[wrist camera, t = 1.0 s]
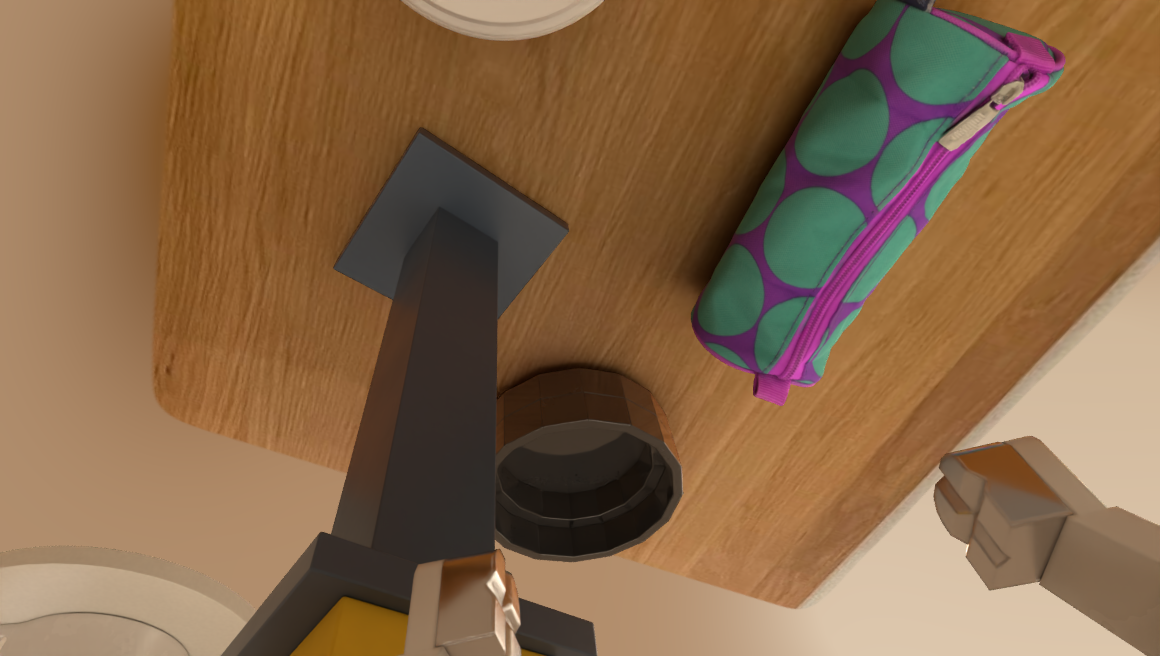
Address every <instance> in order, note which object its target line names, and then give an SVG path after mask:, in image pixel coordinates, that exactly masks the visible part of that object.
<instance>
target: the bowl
mask: <svg viewBox="0 0 1160 656" xmlns="http://www.w3.org/2000/svg"><path fill="white" fill-rule="evenodd" d="M682 495H683V480H682V465H681V462H680V459H679V456H678V453H677V449H676V446H675V443H674V440H673V437H672V433H671V430H670V427H669V424H668V420H667V417H666V414H665V413H664V411H663V410H662V408H661V407H660V406H659V404H658V403H657V401H656V400H655V398H654V397H653V395H652V394H651V392H650V391H649V390H647V389H645V388H644V387H642V386H640V385H638V384H636V383H635V382H633V381H631V380H629V379H628V378H626V377H624V376H622V375H620V374H618V373H611V372H605V371H598V370H592V369H585V368H575V369H569V370H563V371H557V372H551V373H544V374H539V375H537V376H535V377H533V378H531V379H529V380H527V381H525V382H523V383H522V384H520V385H518V386H516V387H514V388H512V389H510V390H508V391H506V392H505V393H503V394H502V396H501V397H500V398H499V399H498V400H497V401H496V480H495V540H496V541H497V542H499V543H500V544H501V545H502V546H503V547H504V548H507V549H509V550H512V551H514V552H517V553H520V554H522V555H525V556H528V557H531V558H533V559H538V560H539V559H540V560H552V561H563V562H578V561H584V560H590V559H596V558H602V557H607V556H612V555H614V554H616V553H619V552H621V551H623V550H626V549H628V548H630V547H633V546H635V545H637V544H640V543H642V542H644V541H645V540H646V539H648V538H649V537H650V536H651V535H652V534H654V533H655V532H656V531H657V530H658V529H660V528H661V527H662V526H663V525H664V524H666V523H667V522H668V521H669V520H670V518H671V516H672V514H673V512H674V510H675V508H676V506H677V505H678V503H679V501H680V499H681V497H682Z"/></svg>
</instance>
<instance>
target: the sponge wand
mask: <svg viewBox="0 0 1160 656" xmlns="http://www.w3.org/2000/svg"><path fill="white" fill-rule="evenodd" d="M408 617H409V615H407V614H404V613H400V612H397V611H393V610H390V609H387V608H383V607H380V606H377V605H373V604H370V603H366V602H363V601H360V600H356V599H353V598H349V597H342V598H341V599H340V600H339V601H338V602H337V604H336V605H335V606H334V607H333V608H332V609H331V610H330V611H329V612H328V614H327V615H326V616H325V617H324V618H323V619H322V620H321V621H320V622H319V624H318V625H317V626H316V627H315V628H314V629H313V630H312V631H311V632H310V634H309V635H308V636H307V637H306V638H305V639H304V640H303V641H302V642H301V643H300V645H299V646H298V647H297V648H296V649H295V650H294V651H293V652H292V653H291V655H290V656H397V655H401V654H404V648H405V640H406V633H407V625H408ZM521 655H522V656H545V655H542V654H539V653H535V652H532V651H528V650H525V649H522V648H521Z"/></svg>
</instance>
